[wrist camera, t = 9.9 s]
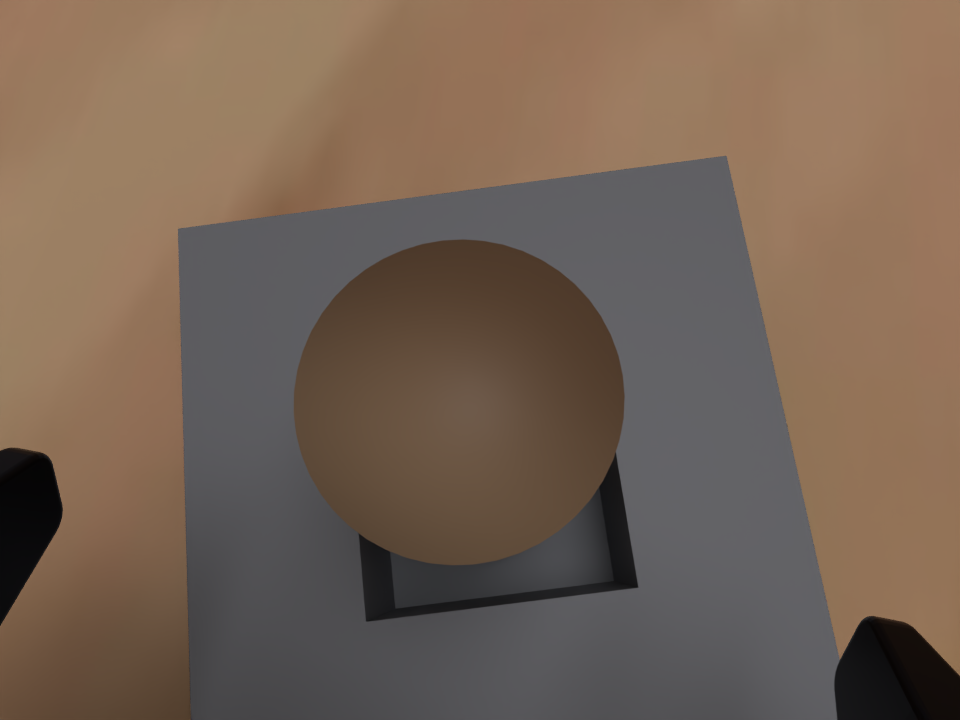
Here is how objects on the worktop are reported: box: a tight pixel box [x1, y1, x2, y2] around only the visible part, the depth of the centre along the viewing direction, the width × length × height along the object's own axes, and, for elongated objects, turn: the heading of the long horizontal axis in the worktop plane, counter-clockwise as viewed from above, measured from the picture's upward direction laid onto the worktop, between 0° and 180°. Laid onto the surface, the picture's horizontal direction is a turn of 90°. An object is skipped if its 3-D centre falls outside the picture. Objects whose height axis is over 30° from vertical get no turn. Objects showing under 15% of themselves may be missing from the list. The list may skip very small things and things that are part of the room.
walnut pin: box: [294, 239, 625, 565], centre depth 13 cm, size 4×4×11 cm
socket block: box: [178, 156, 840, 720], centre depth 17 cm, size 12×12×4 cm
